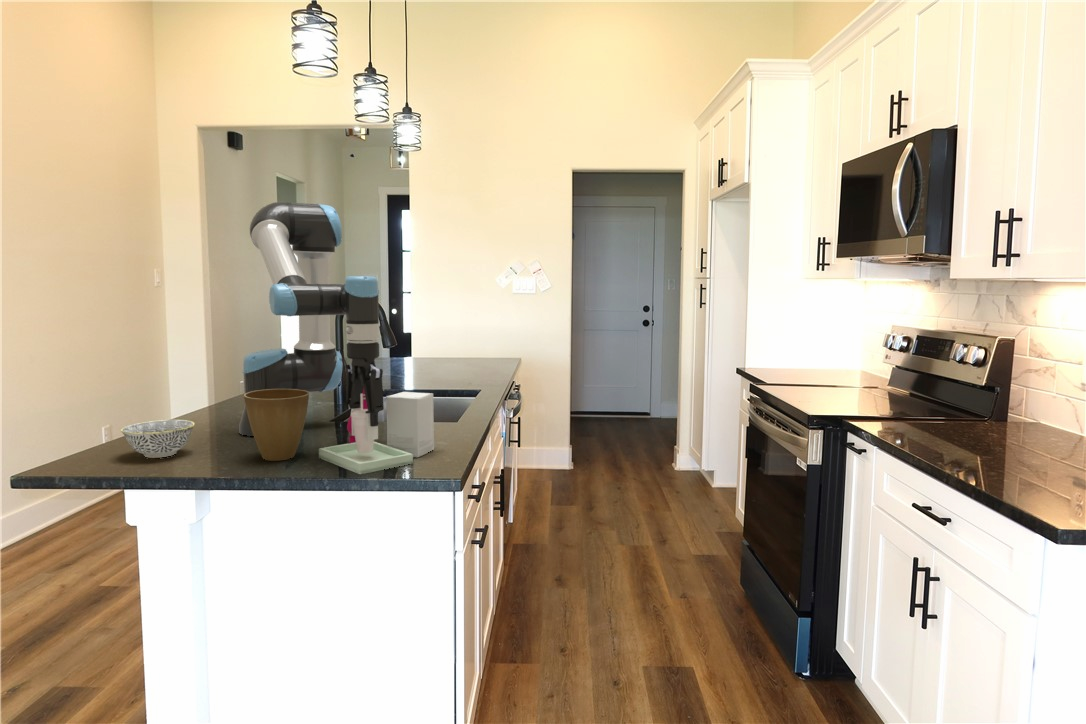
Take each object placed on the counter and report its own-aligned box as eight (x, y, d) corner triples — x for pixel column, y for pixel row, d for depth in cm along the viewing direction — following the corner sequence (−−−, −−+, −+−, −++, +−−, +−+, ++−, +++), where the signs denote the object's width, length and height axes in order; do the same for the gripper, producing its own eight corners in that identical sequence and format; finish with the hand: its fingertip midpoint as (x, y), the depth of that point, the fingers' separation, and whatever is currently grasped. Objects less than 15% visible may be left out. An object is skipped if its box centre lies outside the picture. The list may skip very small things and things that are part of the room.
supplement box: (435, 450, 185) (434, 392, 183) (418, 458, 177) (417, 398, 175) (404, 447, 188) (403, 390, 186) (386, 455, 179) (385, 395, 178)
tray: (319, 458, 176) (318, 448, 176) (369, 449, 185) (369, 440, 185) (359, 474, 161) (359, 464, 161) (412, 463, 171) (412, 454, 171)
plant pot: (232, 462, 171) (230, 396, 169) (271, 448, 185) (269, 387, 183) (287, 467, 167) (284, 399, 165) (322, 452, 181) (321, 390, 179)
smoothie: (353, 448, 176) (352, 391, 174) (380, 447, 177) (379, 391, 175) (349, 454, 170) (347, 395, 168) (376, 454, 170) (375, 395, 169)
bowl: (120, 466, 166) (118, 434, 165) (124, 452, 180) (122, 422, 179) (197, 459, 174) (195, 428, 173) (194, 445, 188) (193, 417, 187)
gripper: (329, 339, 174) (331, 432, 177) (369, 345, 161) (371, 446, 163) (356, 338, 180) (358, 428, 182) (398, 343, 166) (400, 441, 168)
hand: (364, 436), depth 173 cm, fingers closed on smoothie, 6 cm apart
